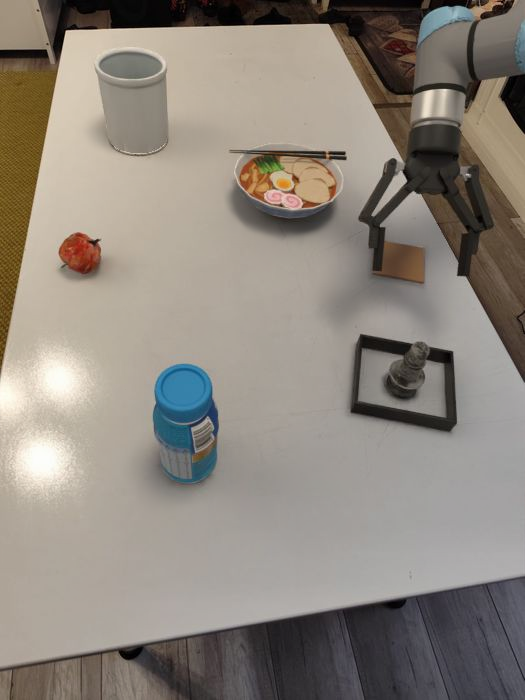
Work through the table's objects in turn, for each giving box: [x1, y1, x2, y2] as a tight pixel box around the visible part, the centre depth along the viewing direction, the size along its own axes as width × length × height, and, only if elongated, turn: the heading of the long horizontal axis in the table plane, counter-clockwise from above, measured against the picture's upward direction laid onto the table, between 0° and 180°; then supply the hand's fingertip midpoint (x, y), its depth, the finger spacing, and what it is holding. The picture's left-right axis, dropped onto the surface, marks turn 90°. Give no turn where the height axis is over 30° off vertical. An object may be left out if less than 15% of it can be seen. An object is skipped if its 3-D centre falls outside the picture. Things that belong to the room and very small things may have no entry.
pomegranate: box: [58, 231, 102, 275], centre depth 94 cm, size 7×7×10 cm
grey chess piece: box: [384, 341, 430, 400], centre depth 82 cm, size 6×6×12 cm
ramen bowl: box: [228, 141, 348, 220], centre depth 109 cm, size 25×23×8 cm
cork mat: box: [372, 240, 425, 284], centre depth 104 cm, size 10×10×1 cm
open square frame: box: [350, 333, 458, 432], centre depth 86 cm, size 16×14×3 cm
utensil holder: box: [93, 46, 169, 156], centre depth 115 cm, size 15×15×18 cm
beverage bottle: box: [152, 363, 220, 484], centre depth 68 cm, size 8×8×20 cm
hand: (420, 274), depth 80 cm, fingers open, 13 cm apart
